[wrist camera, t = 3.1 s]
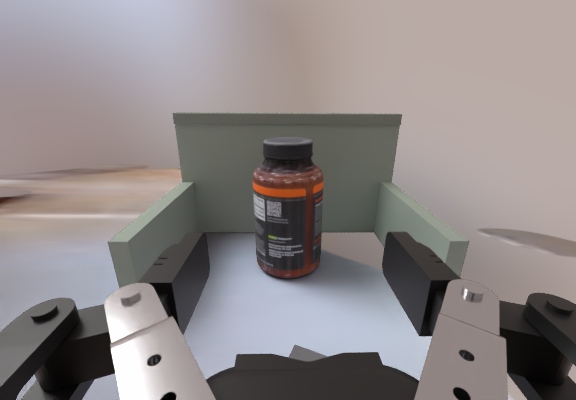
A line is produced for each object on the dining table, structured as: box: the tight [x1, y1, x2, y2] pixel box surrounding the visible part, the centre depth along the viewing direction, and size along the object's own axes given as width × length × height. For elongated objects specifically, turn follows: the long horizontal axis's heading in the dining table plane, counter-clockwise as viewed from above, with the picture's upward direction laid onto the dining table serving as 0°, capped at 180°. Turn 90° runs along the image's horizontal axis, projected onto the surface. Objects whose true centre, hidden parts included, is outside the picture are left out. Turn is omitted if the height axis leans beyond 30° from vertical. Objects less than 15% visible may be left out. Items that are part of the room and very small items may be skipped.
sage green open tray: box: [108, 113, 469, 288], centre depth 23 cm, size 14×22×13 cm, turn 91°
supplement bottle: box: [253, 137, 323, 278], centre depth 23 cm, size 6×6×11 cm
